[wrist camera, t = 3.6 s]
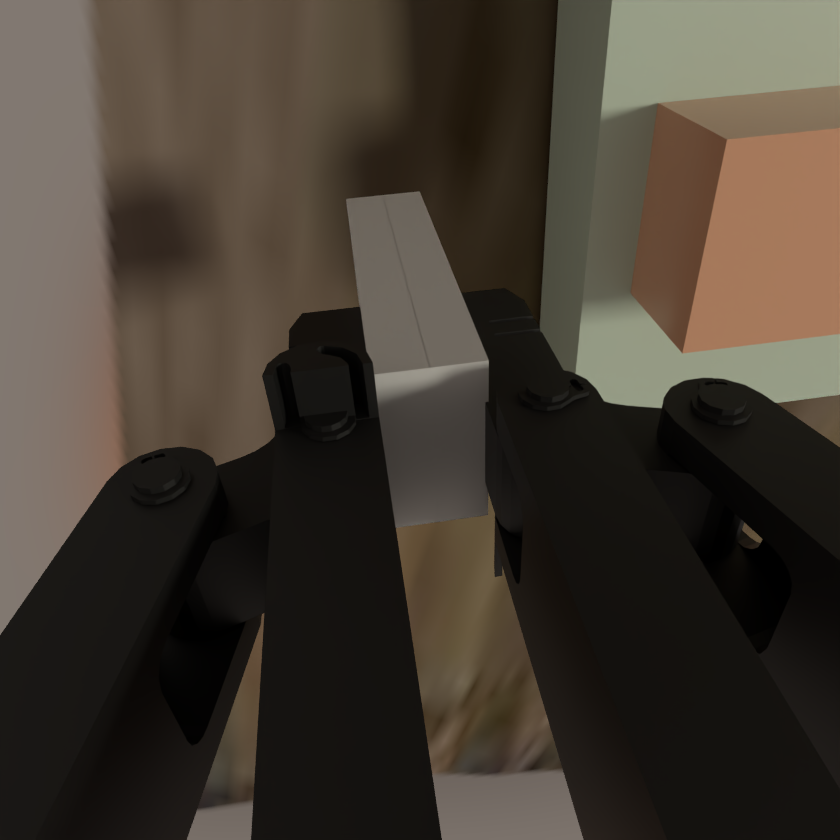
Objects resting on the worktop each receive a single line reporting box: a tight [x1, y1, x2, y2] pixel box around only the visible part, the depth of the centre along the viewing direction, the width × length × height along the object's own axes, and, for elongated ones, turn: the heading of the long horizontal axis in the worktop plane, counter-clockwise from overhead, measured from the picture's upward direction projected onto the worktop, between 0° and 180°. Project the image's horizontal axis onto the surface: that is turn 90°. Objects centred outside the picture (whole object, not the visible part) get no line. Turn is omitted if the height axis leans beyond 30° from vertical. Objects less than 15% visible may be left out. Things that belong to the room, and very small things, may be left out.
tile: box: [630, 85, 840, 354], centre depth 15 cm, size 4×4×3 cm
